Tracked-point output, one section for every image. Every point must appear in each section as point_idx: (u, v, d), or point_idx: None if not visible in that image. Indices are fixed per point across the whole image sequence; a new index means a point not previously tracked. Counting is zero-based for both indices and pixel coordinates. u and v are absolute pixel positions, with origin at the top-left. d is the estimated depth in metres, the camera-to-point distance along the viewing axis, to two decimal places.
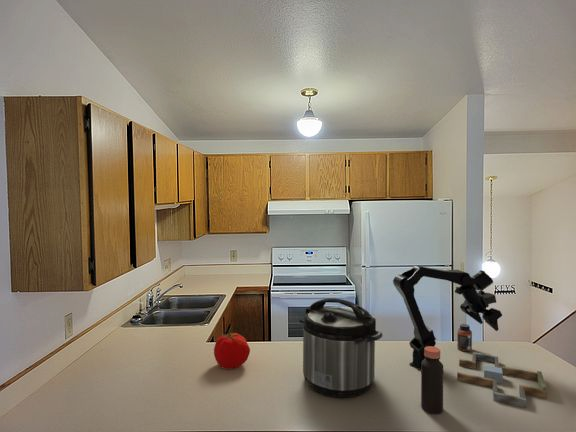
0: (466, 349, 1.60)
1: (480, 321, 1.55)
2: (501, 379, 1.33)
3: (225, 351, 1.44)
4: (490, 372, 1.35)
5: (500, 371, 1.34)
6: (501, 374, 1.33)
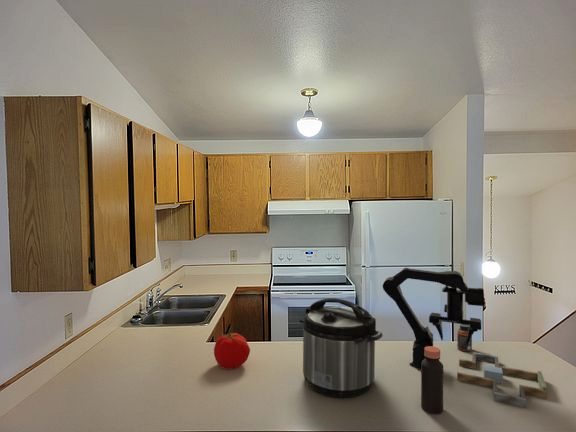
0: (466, 349, 1.60)
1: (442, 337, 1.44)
2: (501, 379, 1.33)
3: (225, 352, 1.44)
4: (490, 372, 1.35)
5: (500, 371, 1.34)
6: (501, 374, 1.33)
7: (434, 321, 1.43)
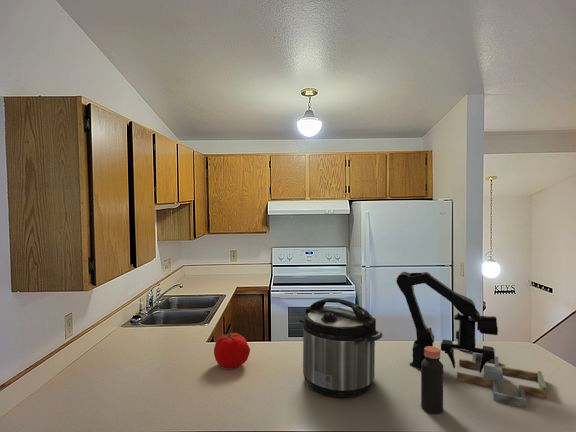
0: None
1: None
2: (501, 379, 1.33)
3: (225, 351, 1.44)
4: (490, 372, 1.34)
5: (500, 371, 1.34)
6: (501, 374, 1.33)
7: (446, 349, 1.41)
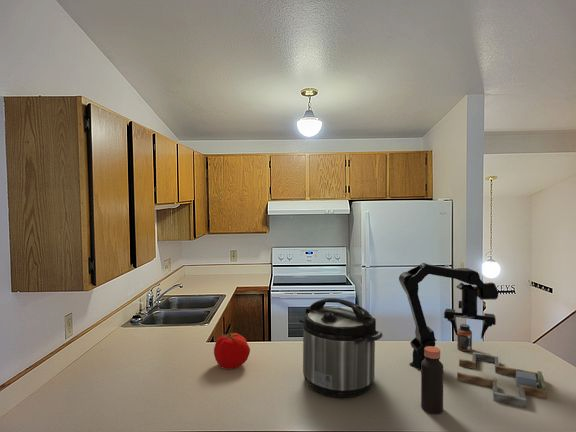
0: (466, 349, 1.60)
1: None
2: (535, 386, 1.28)
3: (225, 351, 1.44)
4: (523, 378, 1.30)
5: (534, 377, 1.29)
6: (535, 380, 1.28)
7: (449, 317, 1.48)
